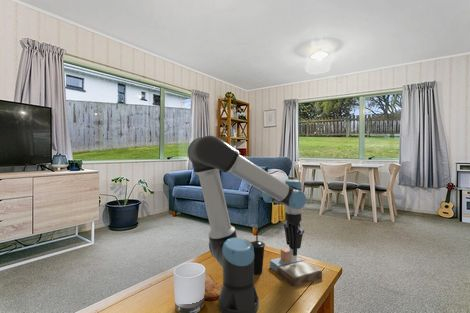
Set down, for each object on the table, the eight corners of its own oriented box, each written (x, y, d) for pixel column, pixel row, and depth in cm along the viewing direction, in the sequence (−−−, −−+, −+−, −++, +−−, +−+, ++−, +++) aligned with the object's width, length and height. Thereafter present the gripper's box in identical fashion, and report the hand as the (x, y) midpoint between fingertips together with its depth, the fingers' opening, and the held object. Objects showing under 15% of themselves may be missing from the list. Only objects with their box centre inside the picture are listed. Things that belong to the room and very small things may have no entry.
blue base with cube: (277, 272, 115) (277, 255, 115) (269, 266, 122) (269, 250, 122) (302, 266, 122) (302, 250, 121) (293, 261, 128) (293, 245, 128)
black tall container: (246, 274, 115) (246, 231, 115) (252, 267, 121) (252, 227, 121) (261, 277, 111) (261, 234, 111) (267, 270, 118) (267, 229, 118)
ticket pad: (293, 286, 104) (293, 277, 104) (277, 273, 115) (277, 266, 115) (322, 278, 110) (322, 270, 110) (304, 267, 121) (304, 259, 121)
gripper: (308, 214, 112) (308, 265, 112) (291, 208, 124) (291, 254, 124) (295, 216, 109) (295, 268, 109) (278, 210, 121) (279, 257, 121)
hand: (293, 261), depth 117 cm, fingers closed
